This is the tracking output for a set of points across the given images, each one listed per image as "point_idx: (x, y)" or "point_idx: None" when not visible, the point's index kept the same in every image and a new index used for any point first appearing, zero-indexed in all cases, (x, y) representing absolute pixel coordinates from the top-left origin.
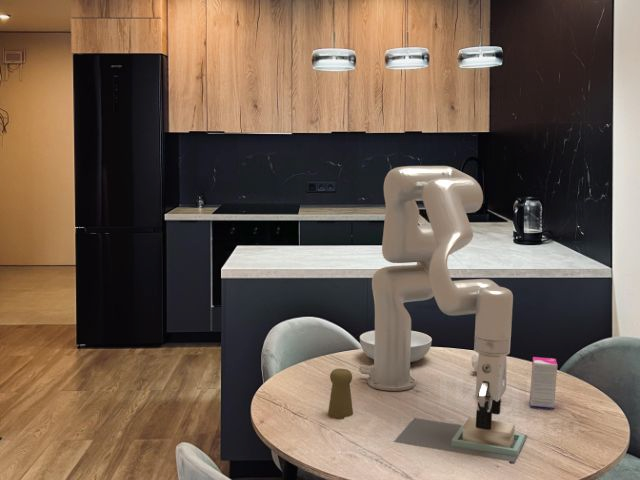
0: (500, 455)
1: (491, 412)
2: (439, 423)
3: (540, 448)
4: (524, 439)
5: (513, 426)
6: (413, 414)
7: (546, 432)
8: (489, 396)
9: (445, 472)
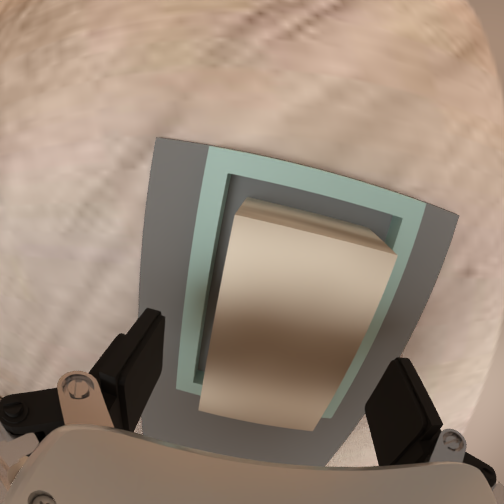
0: (410, 263)
1: (442, 423)
2: (153, 417)
3: (284, 82)
4: (225, 148)
5: (281, 225)
6: None
7: (99, 69)
8: (122, 425)
9: (475, 387)
